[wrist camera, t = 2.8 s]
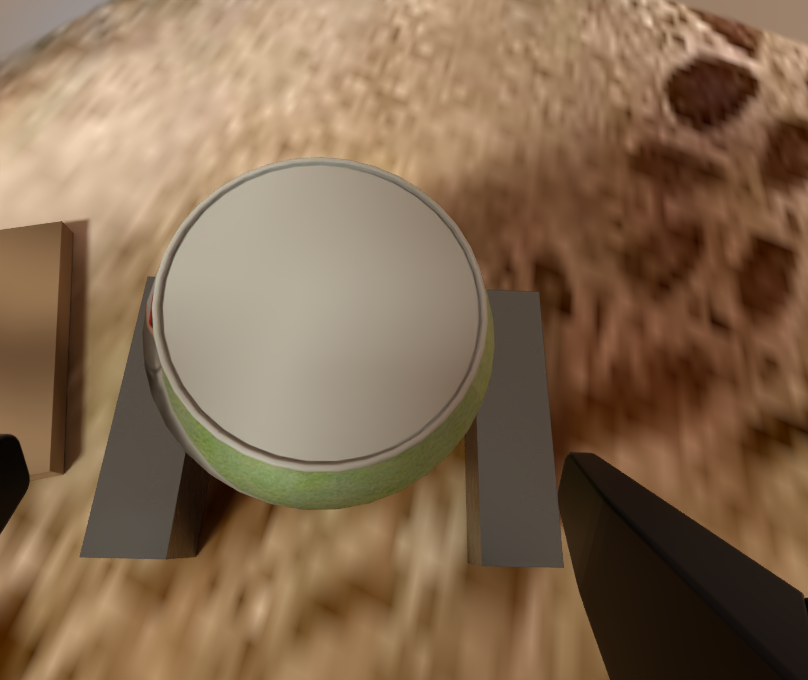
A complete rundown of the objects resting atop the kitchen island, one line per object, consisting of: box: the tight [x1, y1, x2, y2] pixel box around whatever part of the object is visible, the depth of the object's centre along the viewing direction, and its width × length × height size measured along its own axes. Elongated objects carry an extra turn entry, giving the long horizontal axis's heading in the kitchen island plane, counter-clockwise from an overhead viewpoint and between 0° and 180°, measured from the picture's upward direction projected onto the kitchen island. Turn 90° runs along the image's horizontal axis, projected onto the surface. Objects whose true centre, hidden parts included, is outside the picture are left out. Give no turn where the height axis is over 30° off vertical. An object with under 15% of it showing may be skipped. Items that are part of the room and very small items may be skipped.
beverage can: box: [142, 157, 495, 510], centre depth 13 cm, size 6×7×12 cm
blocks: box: [80, 277, 564, 568], centre depth 17 cm, size 9×14×2 cm, turn 89°
